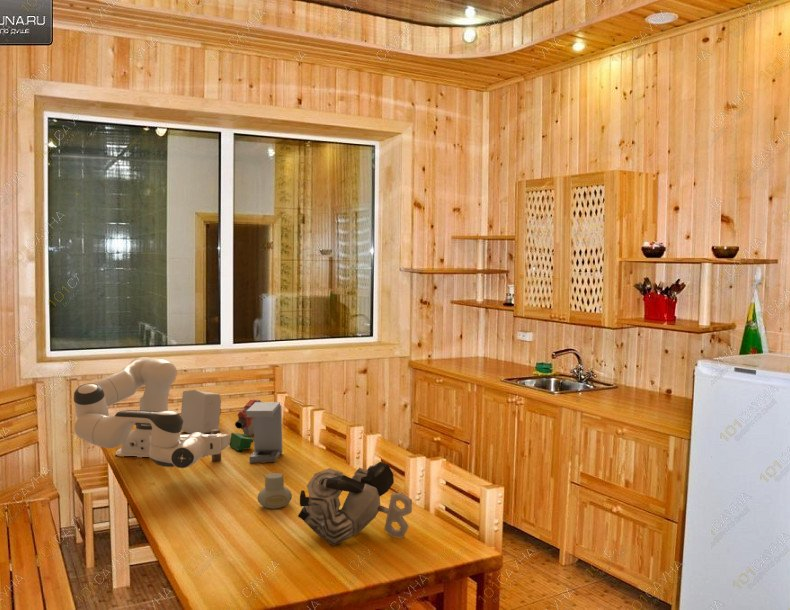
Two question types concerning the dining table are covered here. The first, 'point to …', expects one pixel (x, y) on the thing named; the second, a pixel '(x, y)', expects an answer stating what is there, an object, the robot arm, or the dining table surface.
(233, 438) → the clamp
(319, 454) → the dining table surface
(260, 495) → the air freshener
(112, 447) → the robot arm
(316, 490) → the toy
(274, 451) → the socket
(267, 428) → the gray cantilever bracket
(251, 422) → the toy gun
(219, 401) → the electrical switch box
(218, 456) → the peg
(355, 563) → the dining table surface
